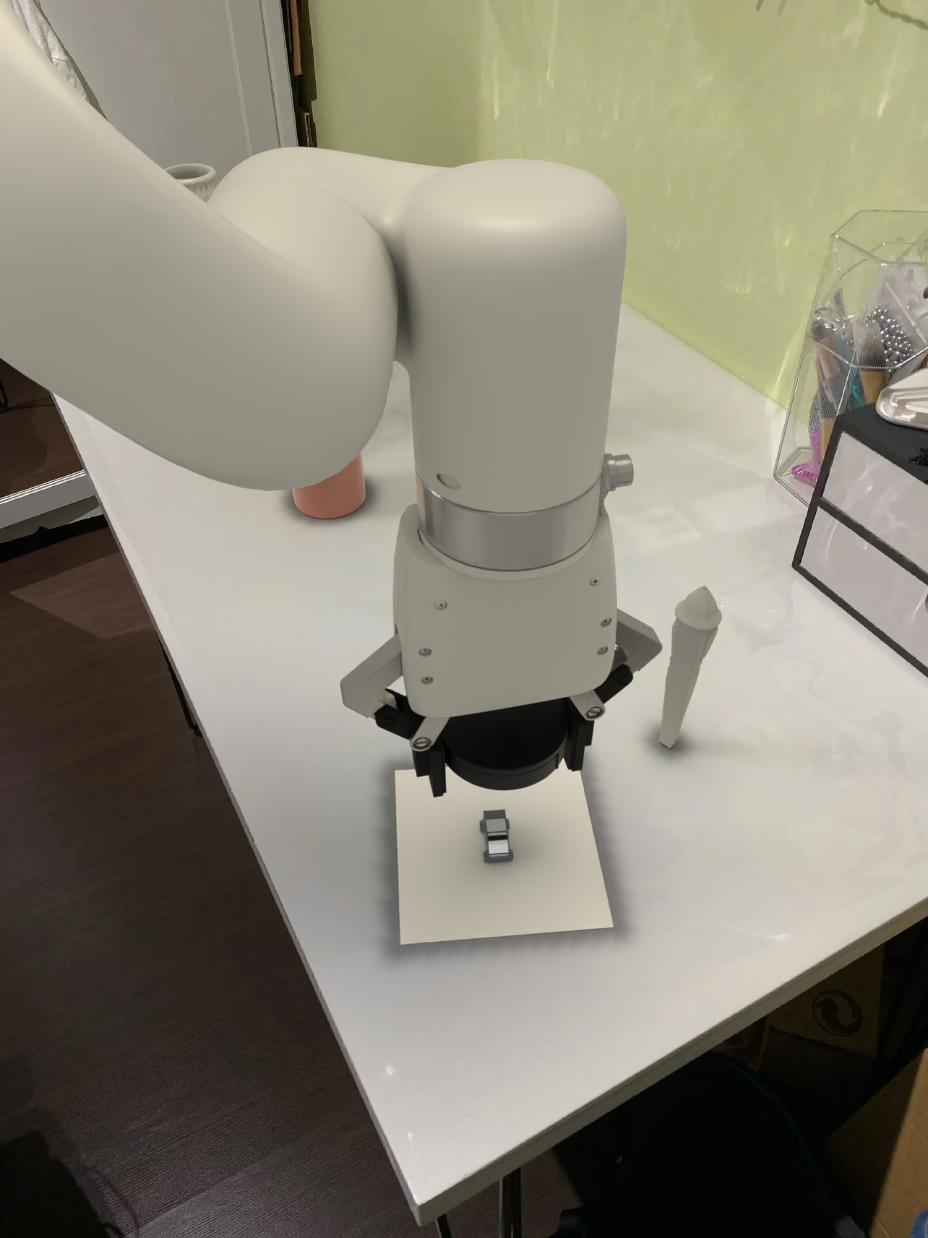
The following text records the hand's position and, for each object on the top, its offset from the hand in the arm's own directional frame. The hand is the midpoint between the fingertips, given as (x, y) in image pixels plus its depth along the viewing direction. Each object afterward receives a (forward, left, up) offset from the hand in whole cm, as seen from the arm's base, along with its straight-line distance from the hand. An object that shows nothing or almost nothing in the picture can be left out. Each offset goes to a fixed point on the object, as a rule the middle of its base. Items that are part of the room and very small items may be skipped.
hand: (501, 761), depth 50 cm
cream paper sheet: (0, 0, -8) cm, 8 cm away
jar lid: (0, 0, +3) cm, 3 cm away
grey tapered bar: (+13, +5, -8) cm, 16 cm away
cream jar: (-6, +38, -8) cm, 39 cm away
